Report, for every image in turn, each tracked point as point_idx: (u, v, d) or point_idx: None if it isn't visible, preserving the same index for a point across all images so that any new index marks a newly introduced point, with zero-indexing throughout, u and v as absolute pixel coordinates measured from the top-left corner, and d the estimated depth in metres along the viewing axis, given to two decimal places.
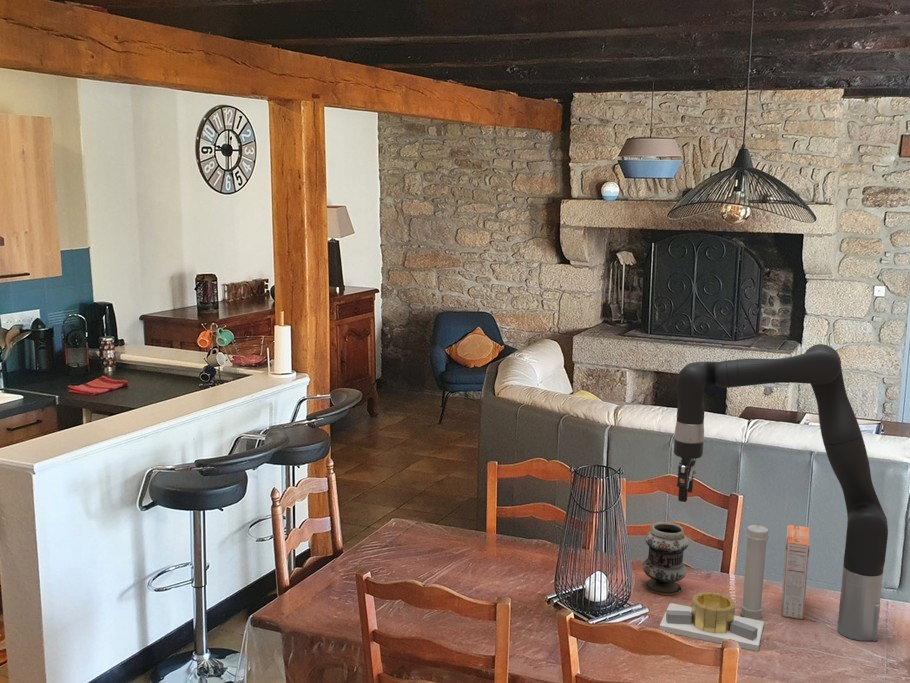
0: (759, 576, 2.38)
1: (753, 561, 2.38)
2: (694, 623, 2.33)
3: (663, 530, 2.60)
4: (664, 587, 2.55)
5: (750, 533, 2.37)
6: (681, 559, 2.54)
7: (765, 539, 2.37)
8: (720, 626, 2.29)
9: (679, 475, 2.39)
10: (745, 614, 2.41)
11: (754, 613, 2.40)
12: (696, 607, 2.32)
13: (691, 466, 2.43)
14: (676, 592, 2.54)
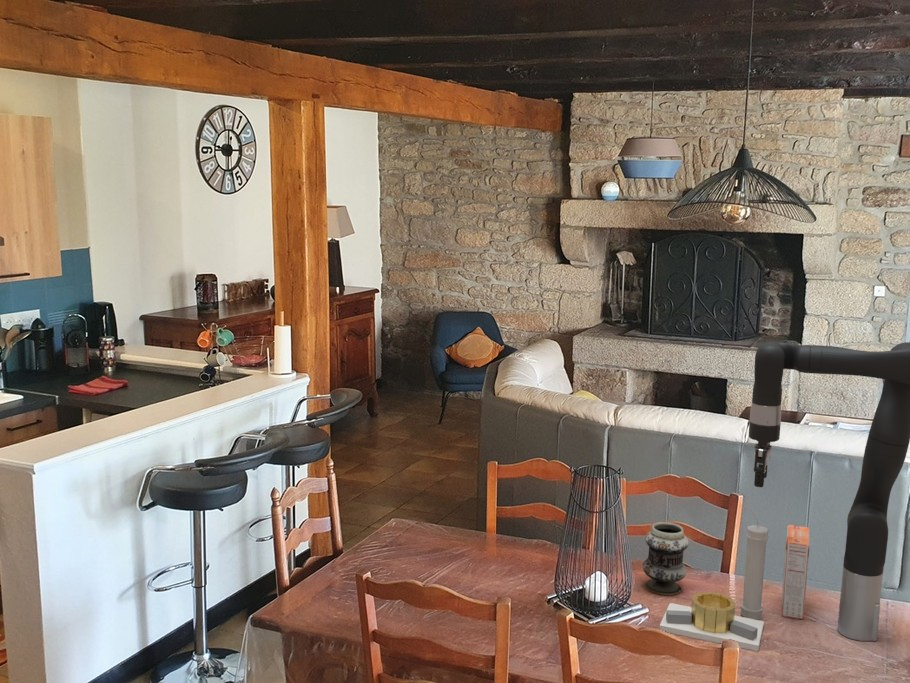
0: (759, 576, 2.38)
1: (753, 561, 2.38)
2: (694, 623, 2.33)
3: (663, 530, 2.60)
4: (664, 587, 2.55)
5: (750, 533, 2.37)
6: (681, 559, 2.54)
7: (765, 539, 2.37)
8: (720, 626, 2.29)
9: (756, 459, 2.29)
10: (745, 614, 2.41)
11: (754, 613, 2.40)
12: (696, 607, 2.32)
13: (768, 450, 2.33)
14: (676, 592, 2.54)
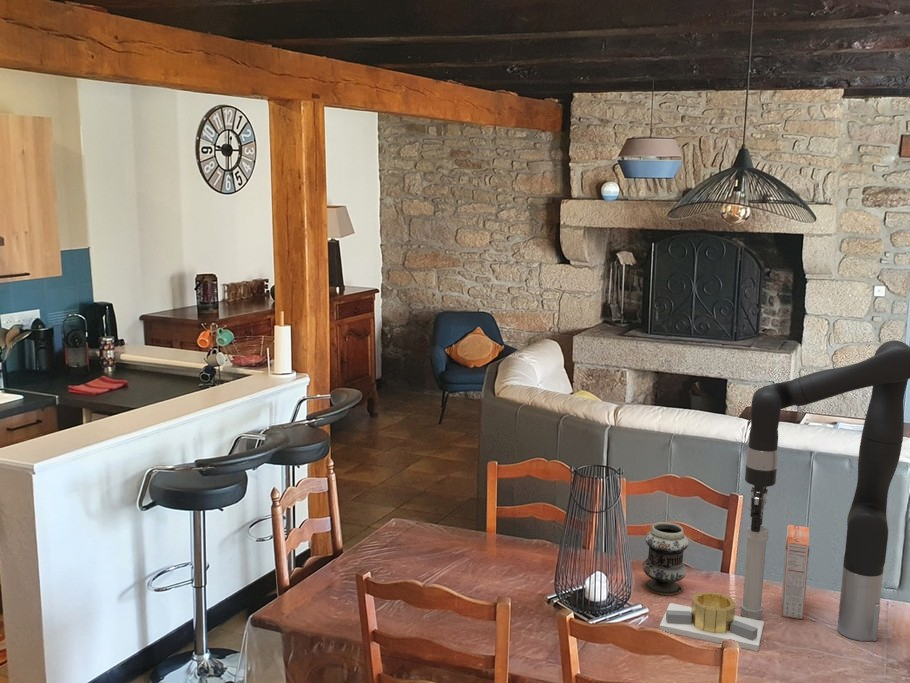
0: (759, 576, 2.38)
1: (753, 561, 2.38)
2: (694, 623, 2.33)
3: (663, 530, 2.60)
4: (664, 587, 2.55)
5: (750, 533, 2.37)
6: (681, 559, 2.54)
7: (765, 539, 2.36)
8: (720, 626, 2.29)
9: (752, 507, 2.32)
10: (745, 614, 2.41)
11: (754, 613, 2.40)
12: (696, 607, 2.32)
13: (764, 494, 2.35)
14: (676, 592, 2.54)
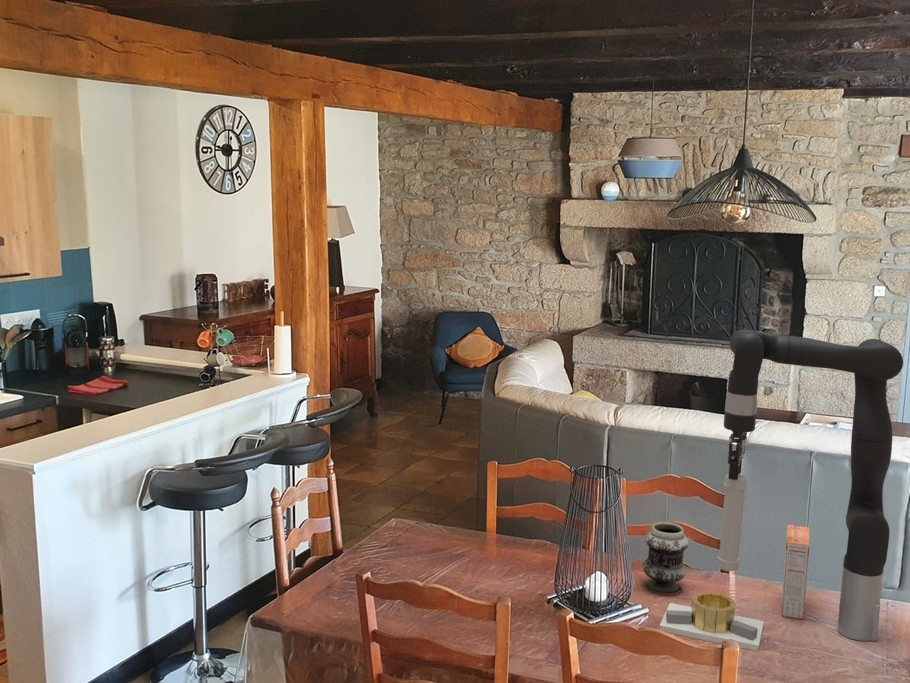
0: (737, 525, 2.31)
1: (730, 510, 2.30)
2: (694, 623, 2.33)
3: (663, 530, 2.60)
4: (664, 587, 2.55)
5: (728, 481, 2.29)
6: (681, 559, 2.54)
7: (743, 487, 2.29)
8: (720, 626, 2.29)
9: (730, 453, 2.24)
10: (722, 566, 2.33)
11: (730, 565, 2.32)
12: (696, 607, 2.32)
13: (742, 440, 2.27)
14: (676, 592, 2.54)
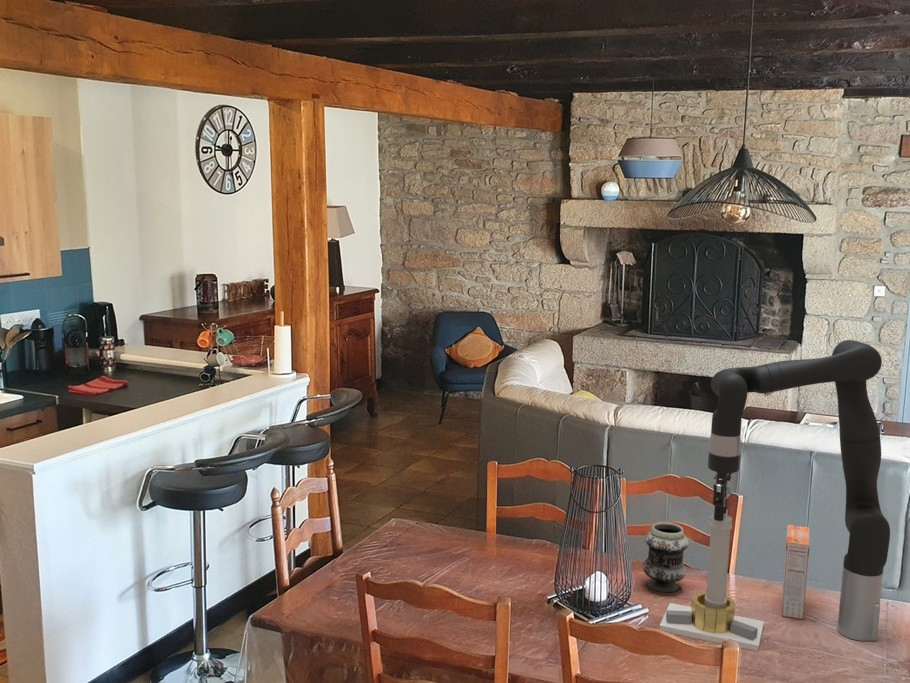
0: (723, 566, 2.30)
1: (716, 551, 2.29)
2: (694, 623, 2.33)
3: (663, 530, 2.60)
4: (664, 587, 2.55)
5: (713, 522, 2.28)
6: (681, 559, 2.54)
7: (728, 528, 2.28)
8: (720, 626, 2.29)
9: (715, 494, 2.23)
10: (709, 606, 2.32)
11: (718, 605, 2.31)
12: (696, 607, 2.32)
13: (727, 481, 2.26)
14: (676, 592, 2.54)
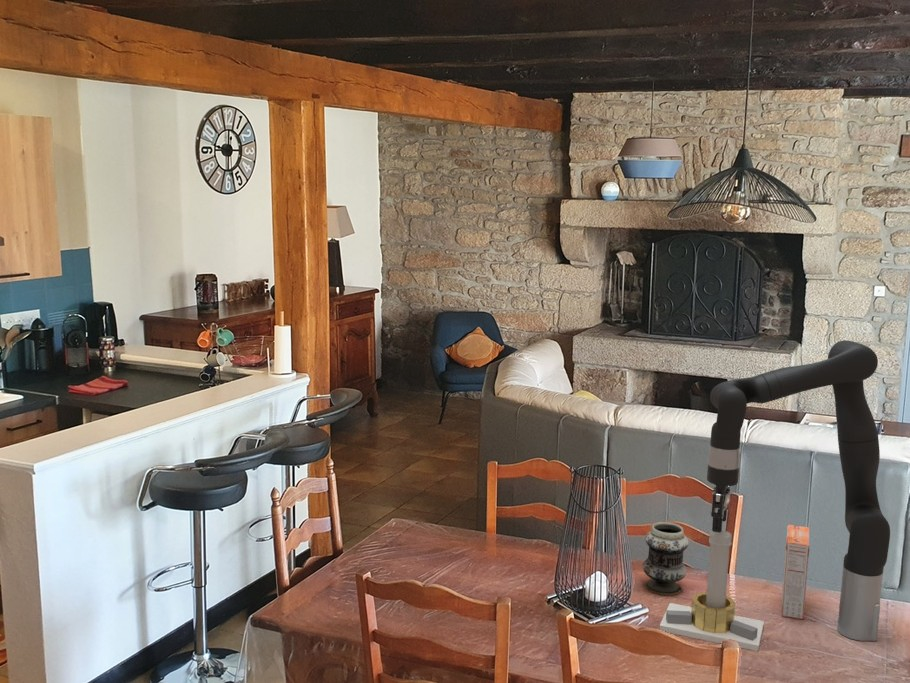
0: (722, 582, 2.30)
1: (716, 567, 2.30)
2: (694, 623, 2.33)
3: (663, 530, 2.60)
4: (664, 587, 2.55)
5: (713, 538, 2.29)
6: (681, 559, 2.54)
7: (728, 544, 2.29)
8: (720, 626, 2.29)
9: (714, 504, 2.23)
10: None
11: None
12: (696, 607, 2.32)
13: (726, 494, 2.26)
14: (676, 592, 2.54)
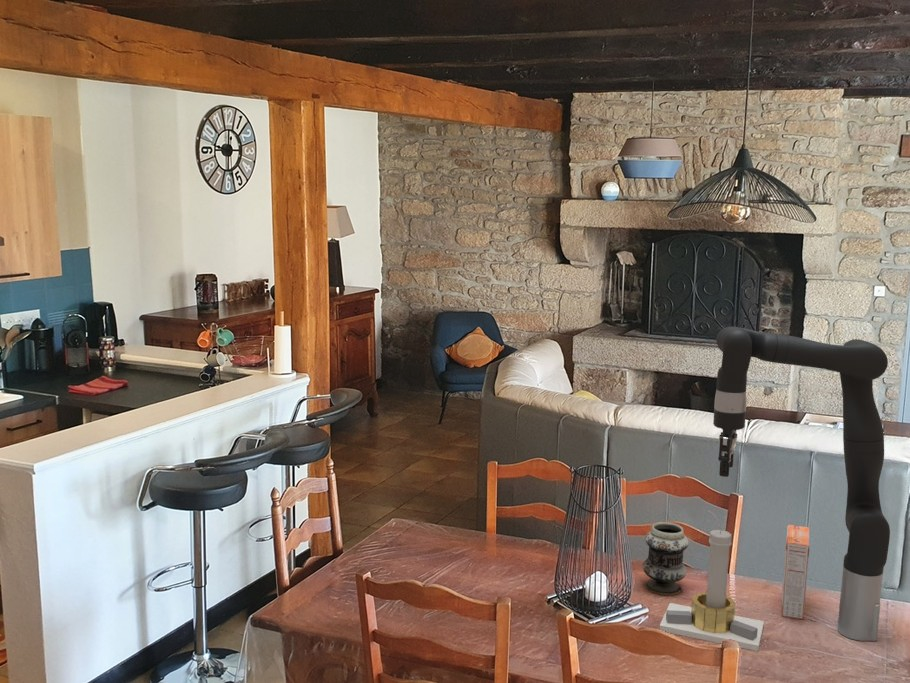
0: (722, 582, 2.30)
1: (715, 567, 2.30)
2: (694, 623, 2.33)
3: (663, 530, 2.60)
4: (664, 587, 2.55)
5: (713, 538, 2.29)
6: (681, 559, 2.54)
7: (728, 544, 2.29)
8: (720, 626, 2.29)
9: (721, 448, 2.22)
10: None
11: None
12: (696, 607, 2.32)
13: (733, 438, 2.25)
14: (676, 592, 2.54)
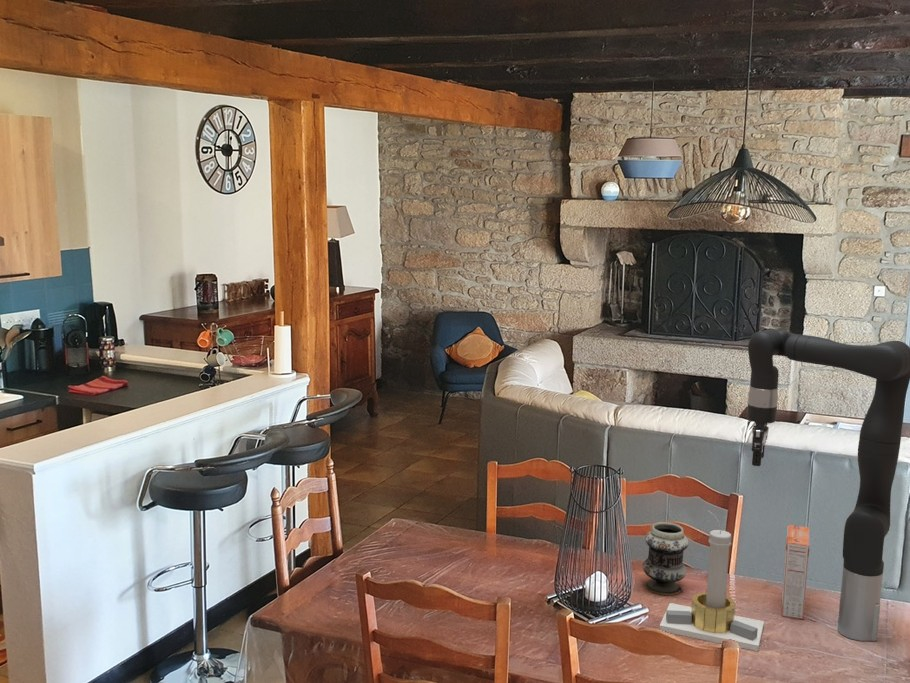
0: (722, 582, 2.30)
1: (715, 567, 2.30)
2: (694, 623, 2.33)
3: (663, 530, 2.60)
4: (664, 587, 2.55)
5: (712, 538, 2.29)
6: (681, 559, 2.54)
7: (728, 544, 2.28)
8: (720, 626, 2.29)
9: (754, 439, 2.42)
10: None
11: None
12: (696, 607, 2.32)
13: (765, 431, 2.46)
14: (676, 592, 2.54)
